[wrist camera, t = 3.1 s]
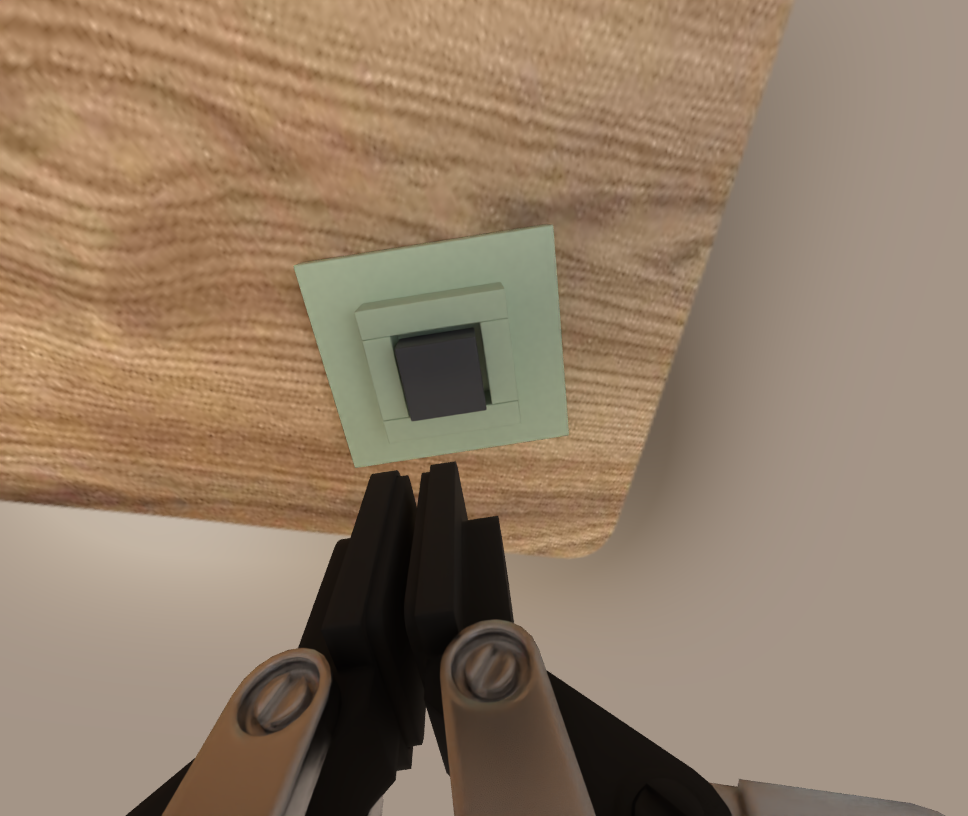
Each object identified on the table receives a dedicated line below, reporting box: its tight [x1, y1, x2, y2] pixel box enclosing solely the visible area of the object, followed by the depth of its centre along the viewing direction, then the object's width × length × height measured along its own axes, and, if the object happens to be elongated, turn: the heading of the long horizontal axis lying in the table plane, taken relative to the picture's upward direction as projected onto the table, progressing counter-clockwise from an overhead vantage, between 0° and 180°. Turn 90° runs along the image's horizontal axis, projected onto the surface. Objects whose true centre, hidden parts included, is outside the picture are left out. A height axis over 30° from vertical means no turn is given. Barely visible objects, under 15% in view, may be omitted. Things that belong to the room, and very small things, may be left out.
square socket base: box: [294, 224, 569, 468], centre depth 21 cm, size 11×10×3 cm
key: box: [395, 327, 487, 422], centre depth 19 cm, size 3×3×2 cm
